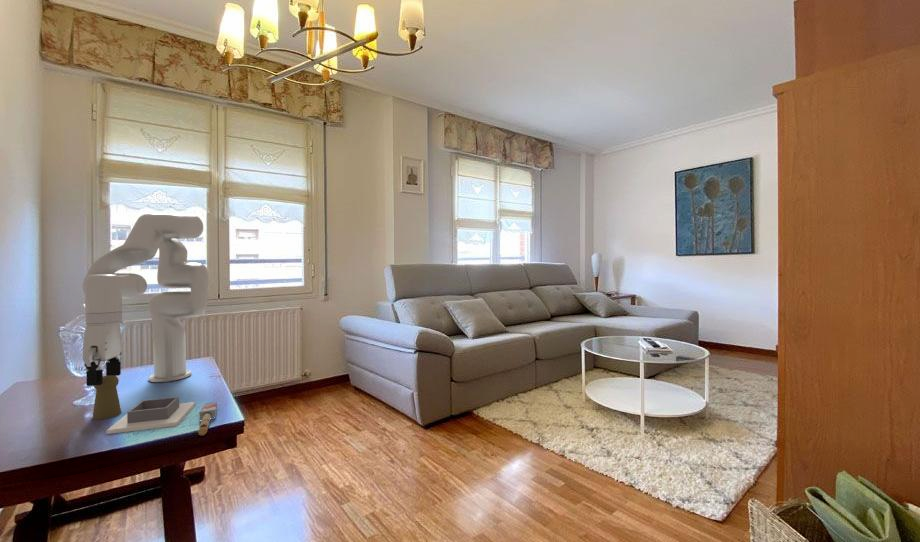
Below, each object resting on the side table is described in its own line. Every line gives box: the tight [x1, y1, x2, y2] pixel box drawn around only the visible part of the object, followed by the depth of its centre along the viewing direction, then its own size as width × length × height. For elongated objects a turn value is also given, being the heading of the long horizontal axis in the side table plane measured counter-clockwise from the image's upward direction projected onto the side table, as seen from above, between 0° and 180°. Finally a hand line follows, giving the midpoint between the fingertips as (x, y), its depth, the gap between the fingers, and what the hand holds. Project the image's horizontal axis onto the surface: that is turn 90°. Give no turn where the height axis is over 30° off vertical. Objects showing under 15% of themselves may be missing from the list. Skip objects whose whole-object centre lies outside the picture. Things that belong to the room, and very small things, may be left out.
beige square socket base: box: [105, 396, 196, 435], centre depth 107 cm, size 15×15×4 cm
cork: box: [92, 375, 122, 421], centre depth 109 cm, size 6×6×11 cm
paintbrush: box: [197, 401, 218, 436], centre depth 106 cm, size 4×3×20 cm
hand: (104, 380), depth 108 cm, fingers open, 9 cm apart
